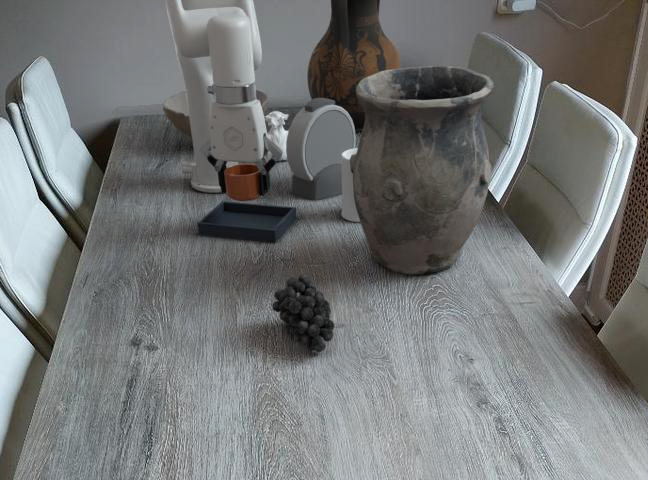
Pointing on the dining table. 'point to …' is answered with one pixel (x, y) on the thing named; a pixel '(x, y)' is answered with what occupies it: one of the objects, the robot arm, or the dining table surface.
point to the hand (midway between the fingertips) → (245, 191)
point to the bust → (277, 133)
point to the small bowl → (242, 182)
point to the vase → (350, 55)
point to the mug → (348, 188)
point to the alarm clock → (319, 148)
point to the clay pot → (421, 164)
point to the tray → (247, 221)
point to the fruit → (305, 313)
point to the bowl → (180, 116)
